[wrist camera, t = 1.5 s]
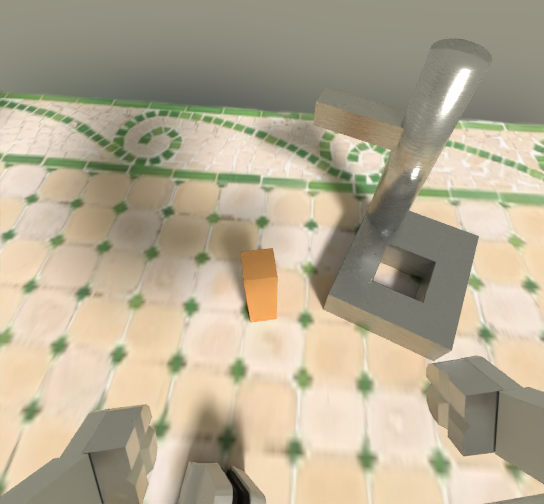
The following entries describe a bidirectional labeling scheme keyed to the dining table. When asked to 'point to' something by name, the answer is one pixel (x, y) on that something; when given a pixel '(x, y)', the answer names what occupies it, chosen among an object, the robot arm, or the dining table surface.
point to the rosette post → (408, 205)
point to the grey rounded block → (218, 486)
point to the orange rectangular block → (260, 284)
